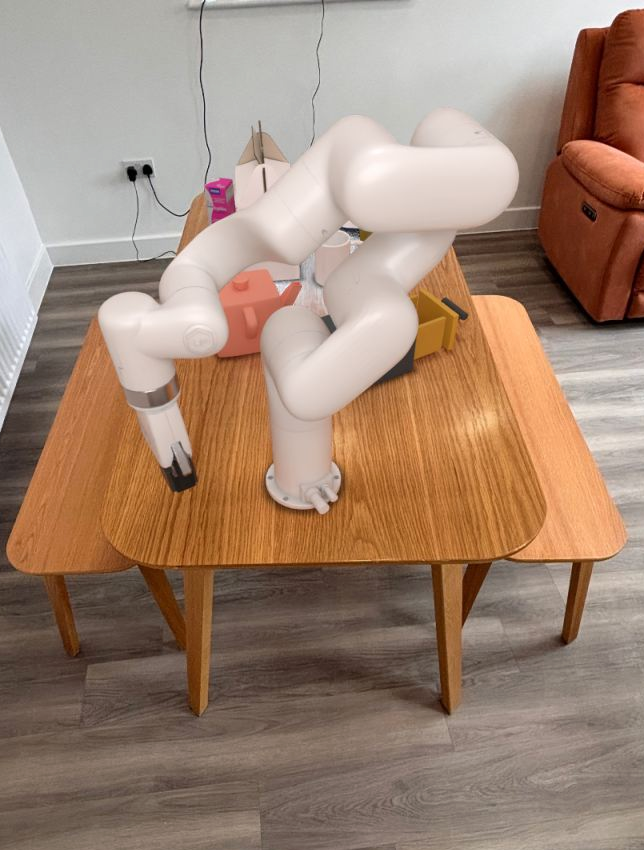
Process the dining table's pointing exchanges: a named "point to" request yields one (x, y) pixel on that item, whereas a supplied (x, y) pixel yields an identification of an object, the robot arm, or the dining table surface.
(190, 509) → the dining table surface
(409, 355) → the cabinet
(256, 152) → the paper bag
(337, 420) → the dining table surface
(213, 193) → the supplement box
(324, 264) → the mug
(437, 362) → the dining table surface
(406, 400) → the dining table surface
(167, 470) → the block
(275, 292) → the teapot
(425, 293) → the yellow drawer
